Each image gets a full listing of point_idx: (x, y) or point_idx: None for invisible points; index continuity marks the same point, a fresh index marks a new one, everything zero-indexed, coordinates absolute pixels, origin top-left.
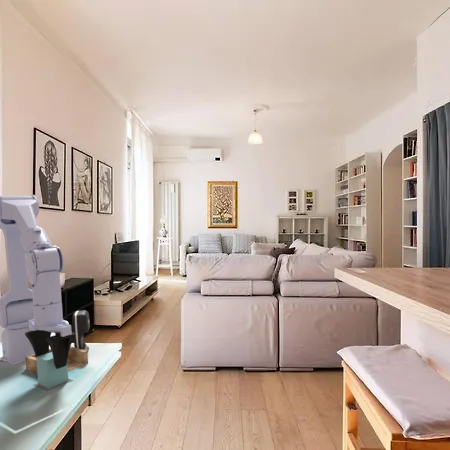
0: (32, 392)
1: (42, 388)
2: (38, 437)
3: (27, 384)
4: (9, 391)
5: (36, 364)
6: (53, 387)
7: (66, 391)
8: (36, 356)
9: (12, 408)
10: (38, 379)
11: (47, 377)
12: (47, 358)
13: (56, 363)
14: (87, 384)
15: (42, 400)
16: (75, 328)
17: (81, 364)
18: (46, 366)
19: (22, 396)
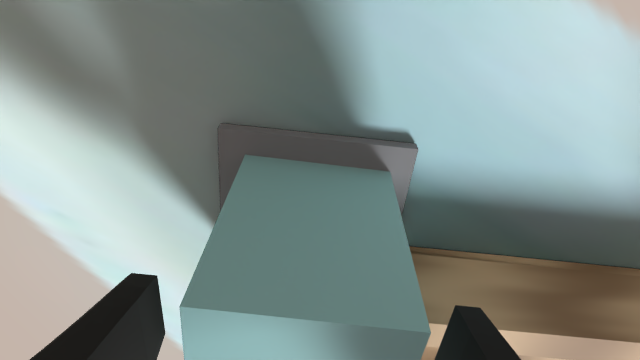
0: (331, 86)
1: (287, 139)
2: None
3: (497, 152)
4: (541, 21)
5: (596, 314)
6: (231, 177)
7: (129, 182)
8: (497, 350)
9: None
10: (387, 189)
11: (231, 195)
12: (242, 341)
13: (91, 308)
14: (119, 275)
15: (126, 34)
16: None
17: None
18: (214, 258)
19: (340, 10)
